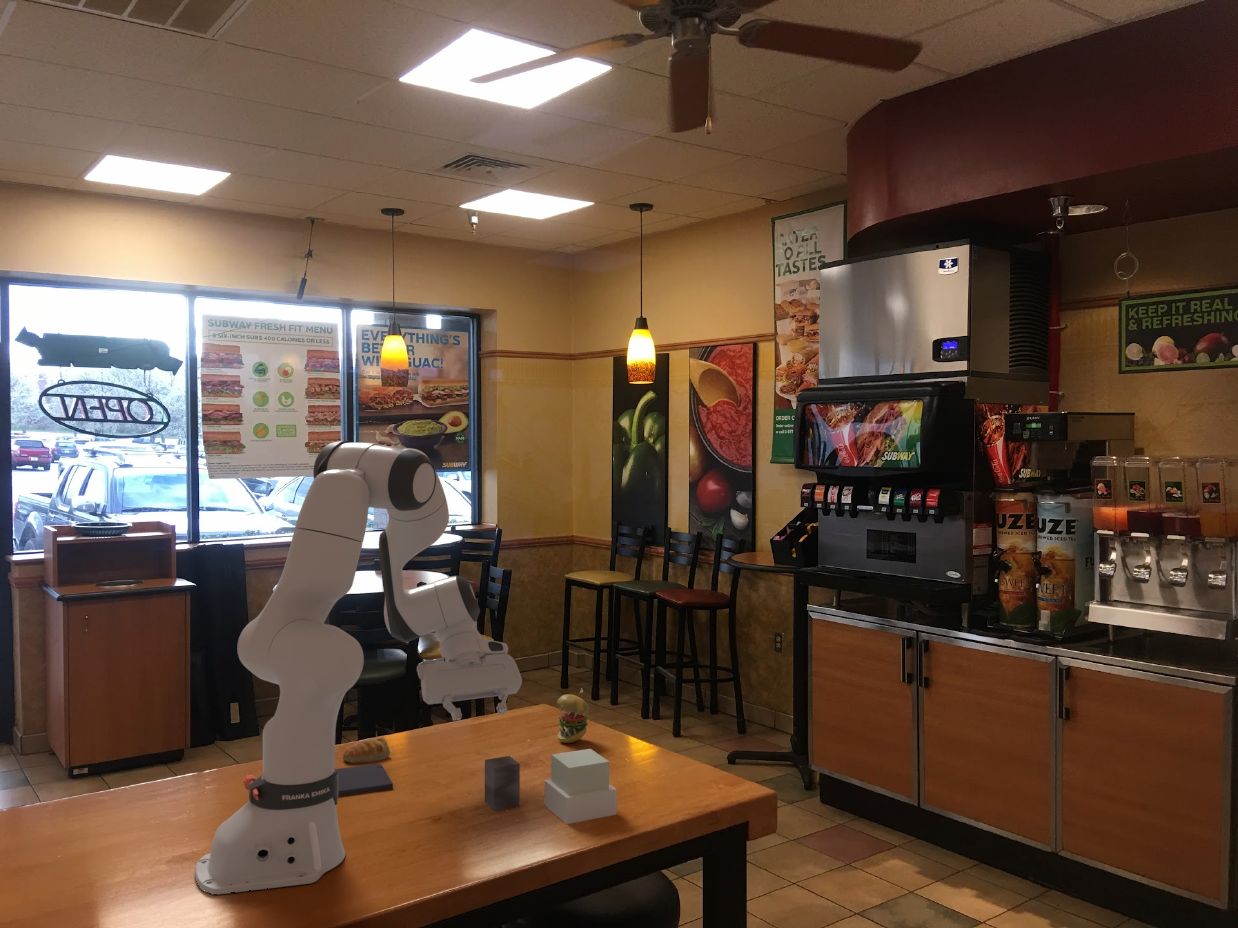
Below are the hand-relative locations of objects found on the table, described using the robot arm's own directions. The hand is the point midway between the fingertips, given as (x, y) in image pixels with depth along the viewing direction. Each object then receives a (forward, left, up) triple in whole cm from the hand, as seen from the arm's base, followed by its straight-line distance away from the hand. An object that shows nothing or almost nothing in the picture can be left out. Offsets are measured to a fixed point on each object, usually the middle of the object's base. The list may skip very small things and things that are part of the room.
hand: (480, 715), depth 192 cm
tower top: (+12, -21, -9) cm, 25 cm away
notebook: (-26, +13, -14) cm, 32 cm away
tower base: (+12, -21, -14) cm, 28 cm away
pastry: (-16, +26, -14) cm, 33 cm away
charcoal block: (0, -11, -14) cm, 18 cm away
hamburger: (+28, +17, -14) cm, 35 cm away
